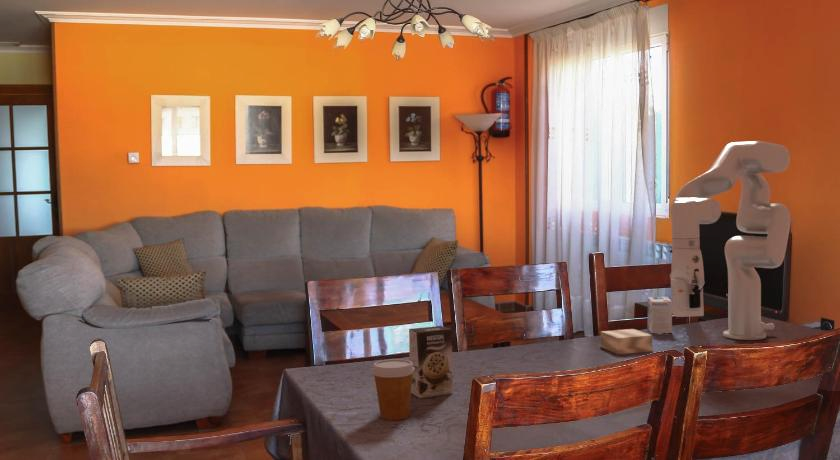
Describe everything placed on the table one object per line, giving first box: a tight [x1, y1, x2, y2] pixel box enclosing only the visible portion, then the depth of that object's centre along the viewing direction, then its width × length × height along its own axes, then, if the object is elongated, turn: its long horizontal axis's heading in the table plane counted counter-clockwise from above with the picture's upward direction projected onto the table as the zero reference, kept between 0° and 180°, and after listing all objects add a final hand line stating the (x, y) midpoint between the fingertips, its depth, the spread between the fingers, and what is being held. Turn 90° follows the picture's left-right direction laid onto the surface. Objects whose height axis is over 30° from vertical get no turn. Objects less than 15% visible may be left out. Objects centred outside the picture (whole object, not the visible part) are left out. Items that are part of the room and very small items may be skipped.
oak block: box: [600, 328, 653, 355], centre depth 251 cm, size 11×11×5 cm
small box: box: [670, 278, 705, 318], centre depth 241 cm, size 8×6×10 cm
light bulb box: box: [647, 296, 673, 334], centre depth 276 cm, size 11×7×11 cm, turn 172°
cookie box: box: [408, 325, 454, 399], centre depth 207 cm, size 9×6×16 cm
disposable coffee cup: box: [371, 358, 415, 421], centre depth 188 cm, size 10×10×12 cm
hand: (687, 305), depth 242 cm, fingers closed on small box, 7 cm apart
